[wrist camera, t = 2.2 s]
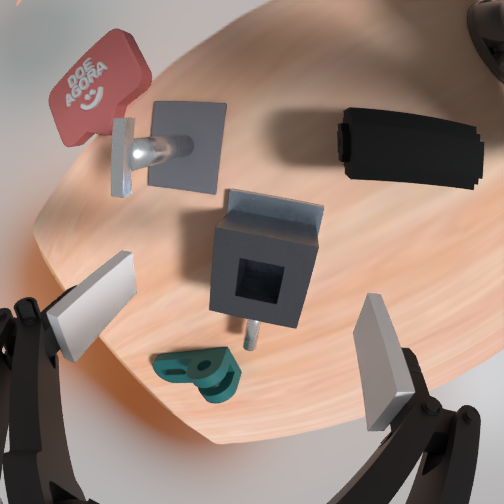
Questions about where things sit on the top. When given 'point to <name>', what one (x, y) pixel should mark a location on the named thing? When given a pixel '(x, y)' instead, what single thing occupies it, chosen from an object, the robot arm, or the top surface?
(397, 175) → the security camera
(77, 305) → the robot arm
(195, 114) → the mat
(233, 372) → the bracket
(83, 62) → the plaque
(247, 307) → the hollow square block
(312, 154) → the top surface
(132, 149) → the silver grey long piece
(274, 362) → the top surface
